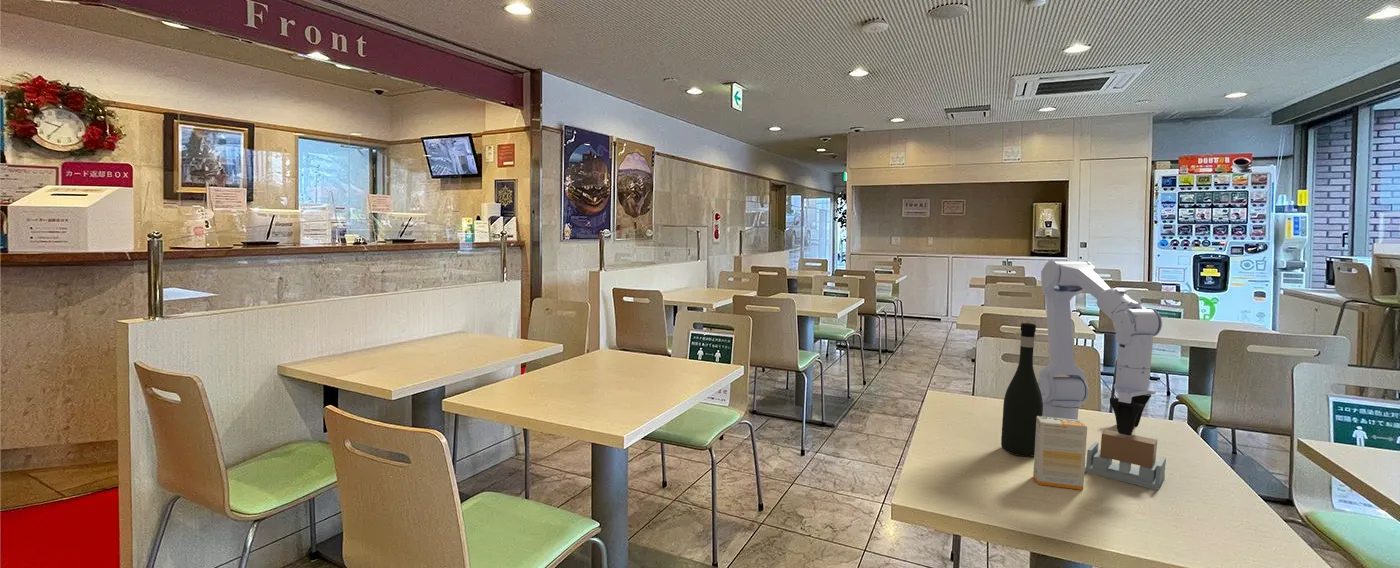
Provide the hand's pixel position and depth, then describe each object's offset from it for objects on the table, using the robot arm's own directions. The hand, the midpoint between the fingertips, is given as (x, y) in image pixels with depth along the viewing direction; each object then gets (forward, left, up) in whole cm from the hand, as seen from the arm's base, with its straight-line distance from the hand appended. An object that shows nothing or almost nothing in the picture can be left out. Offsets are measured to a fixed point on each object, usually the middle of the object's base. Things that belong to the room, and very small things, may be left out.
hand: (1128, 429), depth 127 cm
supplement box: (-9, -15, -10) cm, 20 cm away
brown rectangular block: (0, 0, -6) cm, 6 cm away
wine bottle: (-20, -1, -10) cm, 22 cm away
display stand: (0, 0, -10) cm, 10 cm away
